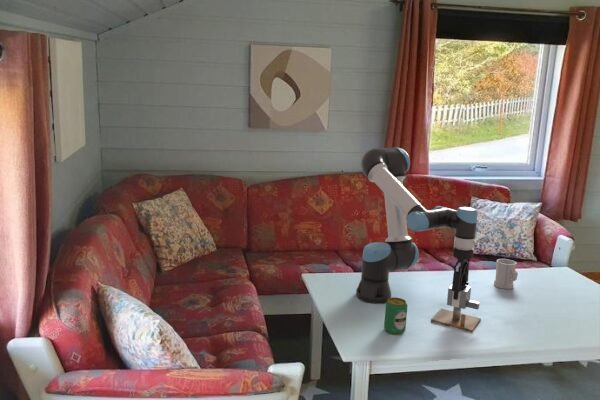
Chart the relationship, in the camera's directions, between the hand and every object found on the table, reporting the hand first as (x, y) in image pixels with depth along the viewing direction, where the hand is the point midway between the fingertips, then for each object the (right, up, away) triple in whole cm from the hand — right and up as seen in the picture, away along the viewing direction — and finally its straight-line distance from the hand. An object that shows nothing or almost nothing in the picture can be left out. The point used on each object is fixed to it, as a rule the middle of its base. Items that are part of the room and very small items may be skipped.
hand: (458, 303), depth 216 cm
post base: (0, -7, +2) cm, 8 cm away
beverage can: (-27, -9, -9) cm, 29 cm away
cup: (+34, 0, +42) cm, 54 cm away
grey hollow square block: (+2, -1, -1) cm, 2 cm away
